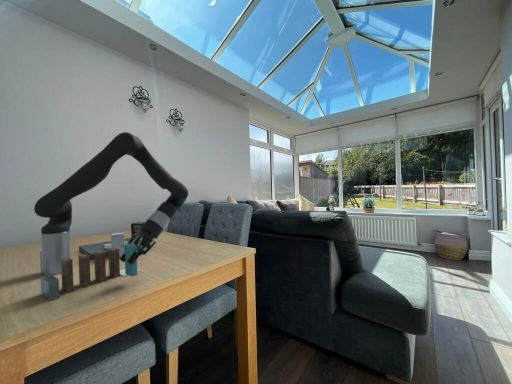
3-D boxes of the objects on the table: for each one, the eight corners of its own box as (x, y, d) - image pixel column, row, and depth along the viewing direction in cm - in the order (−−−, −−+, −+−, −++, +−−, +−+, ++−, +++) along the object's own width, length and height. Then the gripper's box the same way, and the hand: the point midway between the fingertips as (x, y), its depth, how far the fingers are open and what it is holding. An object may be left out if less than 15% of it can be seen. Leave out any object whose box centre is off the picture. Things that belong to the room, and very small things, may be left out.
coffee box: (131, 251, 127) (130, 223, 127) (138, 248, 134) (137, 221, 133) (145, 251, 126) (144, 223, 126) (152, 248, 132) (151, 221, 132)
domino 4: (115, 277, 87) (114, 250, 87) (109, 275, 90) (108, 248, 90) (120, 276, 89) (118, 249, 89) (114, 273, 92) (113, 247, 92)
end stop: (49, 300, 70) (48, 281, 70) (41, 294, 75) (40, 276, 75) (59, 297, 72) (58, 279, 72) (51, 291, 77) (50, 274, 77)
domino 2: (84, 287, 79) (83, 256, 79) (79, 284, 82) (78, 254, 82) (90, 285, 81) (89, 255, 80) (85, 282, 83) (84, 253, 83)
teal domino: (132, 276, 80) (131, 246, 79) (125, 274, 82) (124, 244, 82) (137, 275, 81) (136, 245, 81) (130, 272, 84) (129, 243, 84)
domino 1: (67, 293, 75) (65, 260, 75) (62, 289, 78) (60, 258, 78) (73, 291, 76) (72, 259, 76) (68, 287, 79) (67, 257, 79)
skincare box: (111, 258, 114) (110, 235, 114) (111, 256, 118) (110, 233, 118) (125, 256, 118) (124, 233, 118) (124, 254, 122) (123, 232, 122)
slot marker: (123, 276, 88) (123, 275, 88) (114, 272, 93) (114, 272, 93) (140, 270, 94) (140, 270, 94) (131, 267, 99) (131, 267, 99)
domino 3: (100, 282, 83) (99, 253, 83) (95, 279, 86) (94, 251, 86) (106, 280, 85) (104, 252, 85) (100, 278, 88) (99, 250, 87)
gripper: (139, 217, 92) (108, 253, 82) (159, 219, 84) (127, 259, 74) (152, 228, 96) (123, 264, 86) (172, 231, 88) (143, 270, 78)
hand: (125, 261), depth 80 cm, fingers closed on teal domino, 5 cm apart
